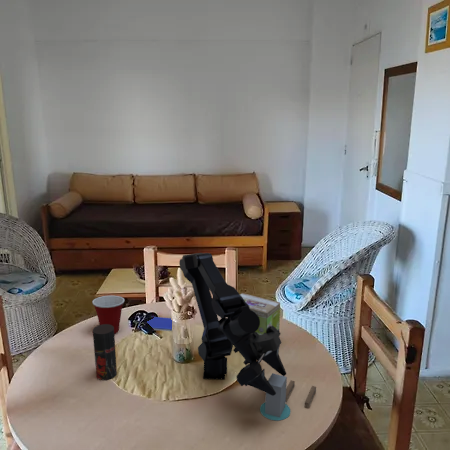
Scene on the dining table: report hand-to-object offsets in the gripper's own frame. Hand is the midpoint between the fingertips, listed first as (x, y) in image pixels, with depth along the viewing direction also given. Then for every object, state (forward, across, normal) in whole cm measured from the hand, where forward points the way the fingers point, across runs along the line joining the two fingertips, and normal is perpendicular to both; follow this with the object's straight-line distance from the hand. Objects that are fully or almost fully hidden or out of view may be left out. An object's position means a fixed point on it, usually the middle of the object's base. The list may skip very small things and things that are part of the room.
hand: (280, 384), depth 119 cm
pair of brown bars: (+8, +8, +3) cm, 12 cm away
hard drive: (-32, +28, +45) cm, 62 cm away
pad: (+5, 0, +6) cm, 8 cm away
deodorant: (-31, -5, +42) cm, 53 cm away
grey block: (+5, 0, +6) cm, 8 cm away
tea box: (-7, +31, +19) cm, 37 cm away
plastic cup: (-41, +17, +53) cm, 69 cm away
